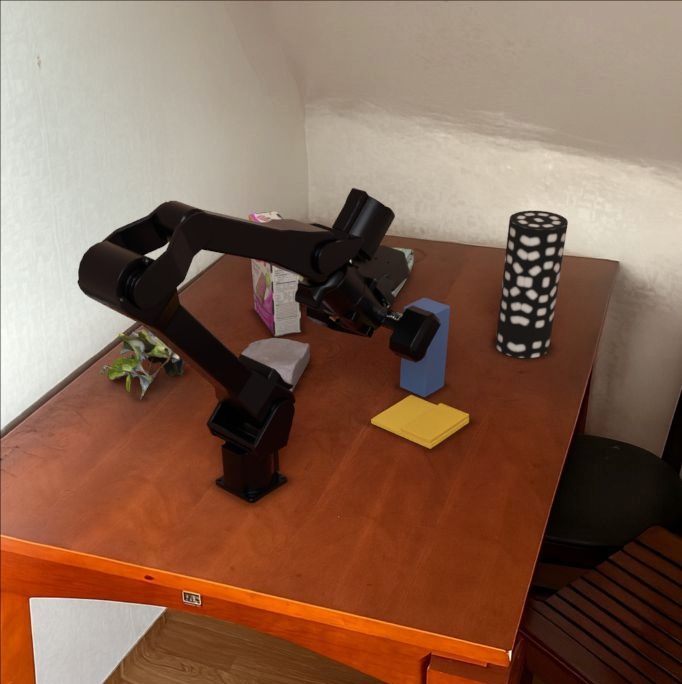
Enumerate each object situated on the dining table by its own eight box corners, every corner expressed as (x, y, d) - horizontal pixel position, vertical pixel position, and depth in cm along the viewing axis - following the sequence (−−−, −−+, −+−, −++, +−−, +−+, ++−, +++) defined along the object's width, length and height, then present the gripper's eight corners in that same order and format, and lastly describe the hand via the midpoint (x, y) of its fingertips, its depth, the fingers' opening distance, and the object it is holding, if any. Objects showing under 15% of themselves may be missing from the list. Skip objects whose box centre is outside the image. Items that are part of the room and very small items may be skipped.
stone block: (231, 401, 136) (296, 396, 133) (223, 370, 134) (289, 365, 131) (254, 366, 146) (316, 361, 143) (247, 337, 143) (309, 331, 141)
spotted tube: (485, 339, 150) (499, 214, 138) (531, 331, 152) (548, 208, 140) (511, 361, 143) (527, 232, 131) (558, 353, 146) (579, 226, 134)
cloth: (430, 449, 123) (430, 440, 122) (370, 423, 128) (371, 415, 127) (469, 422, 129) (469, 414, 128) (410, 398, 134) (411, 390, 133)
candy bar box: (252, 310, 157) (246, 213, 148) (280, 306, 159) (277, 209, 149) (272, 338, 149) (268, 237, 139) (302, 333, 151) (300, 232, 141)
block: (424, 397, 134) (429, 316, 127) (399, 386, 137) (403, 307, 129) (443, 386, 137) (450, 306, 130) (419, 375, 139) (424, 297, 132)
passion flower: (173, 408, 142) (216, 351, 136) (140, 432, 132) (184, 371, 126) (116, 359, 141) (156, 299, 135) (78, 379, 131) (120, 315, 126)
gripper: (437, 252, 110) (482, 312, 123) (320, 215, 120) (373, 274, 133) (391, 335, 109) (441, 387, 123) (278, 291, 120) (335, 343, 133)
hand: (397, 344), depth 128 cm, fingers open, 9 cm apart
